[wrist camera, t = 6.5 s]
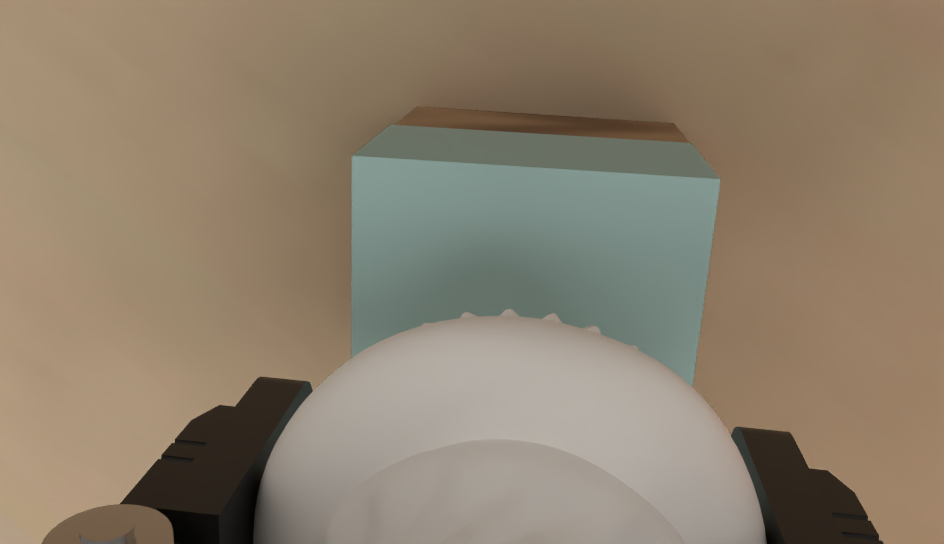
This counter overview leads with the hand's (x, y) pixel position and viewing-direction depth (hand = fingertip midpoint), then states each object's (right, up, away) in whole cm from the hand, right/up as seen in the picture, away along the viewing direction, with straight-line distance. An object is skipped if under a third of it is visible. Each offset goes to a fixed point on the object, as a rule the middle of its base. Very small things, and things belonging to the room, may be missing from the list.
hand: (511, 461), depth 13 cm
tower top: (+1, +3, +9) cm, 9 cm away
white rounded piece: (0, 0, +1) cm, 1 cm away
